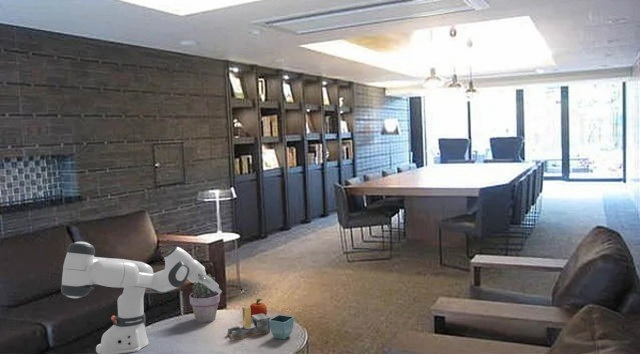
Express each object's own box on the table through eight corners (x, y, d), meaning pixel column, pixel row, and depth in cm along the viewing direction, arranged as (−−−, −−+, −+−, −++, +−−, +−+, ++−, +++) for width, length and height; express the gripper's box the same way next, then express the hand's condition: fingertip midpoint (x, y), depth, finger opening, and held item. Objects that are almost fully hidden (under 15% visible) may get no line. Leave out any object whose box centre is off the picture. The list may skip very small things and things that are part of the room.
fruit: (244, 319, 286) (244, 300, 285) (257, 314, 293) (257, 296, 293) (258, 323, 280) (257, 303, 279) (271, 318, 287) (270, 299, 287)
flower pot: (268, 339, 257) (268, 320, 257) (278, 332, 265) (278, 314, 264) (285, 341, 253) (284, 322, 253) (294, 335, 261) (294, 316, 260)
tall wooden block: (245, 332, 262) (244, 308, 262) (243, 330, 265) (242, 306, 264) (265, 328, 267) (264, 304, 266) (262, 326, 270) (261, 303, 269)
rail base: (233, 339, 257) (232, 324, 256) (227, 334, 264) (227, 319, 263) (270, 332, 266) (269, 317, 265) (263, 327, 273) (263, 313, 272)
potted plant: (206, 328, 274) (204, 278, 272) (180, 321, 285) (178, 273, 284) (232, 318, 288) (231, 271, 286) (207, 312, 300) (205, 266, 298)
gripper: (207, 271, 244) (229, 289, 249) (192, 262, 261) (213, 280, 267) (198, 283, 242) (220, 301, 247) (183, 273, 259) (204, 290, 265)
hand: (216, 290), depth 257 cm, fingers open, 8 cm apart
